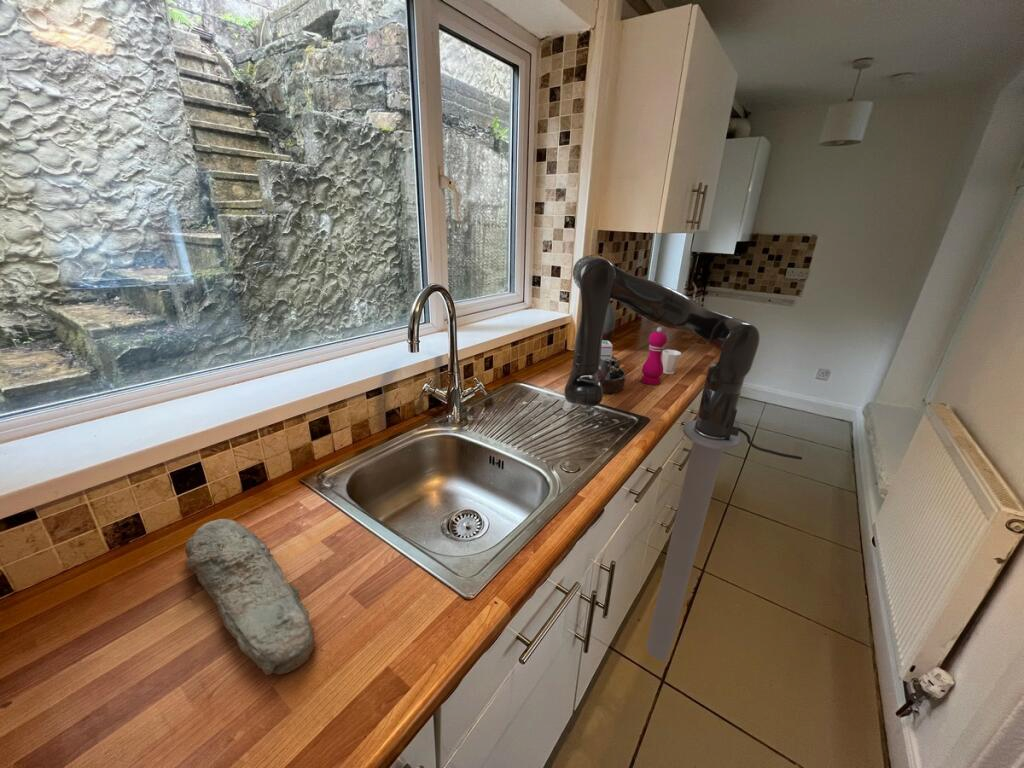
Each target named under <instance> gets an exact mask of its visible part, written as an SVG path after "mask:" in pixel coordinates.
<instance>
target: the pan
mask: <svg viewBox="0 0 1024 768" xmlns="http://www.w3.org/2000/svg"><path fill="white" fill-rule="evenodd" d="M626 378H627V373H626V371H625V370H624V369H622V368H621V367H620V368H619V372H618V373H615V371H614V370H610V374H609V380H604V381H603V383H602V387H603V395H604V394H607V395H608V394H614V393H617V392H619V391H621V390H623V389H624V387H625V386H626V385H625V384H626Z"/></svg>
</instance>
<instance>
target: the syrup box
mask: <svg viewBox="0 0 1024 768" xmlns="http://www.w3.org/2000/svg"><path fill="white" fill-rule="evenodd" d="M613 348H614V346H613V344H611V343H610V341H607V340H602V346H601V356H600V358H601V359H603V360H606V359H610V360H611V358H612V356H613ZM609 374H610V371H608V373H607V375H606V378H605V380H609Z"/></svg>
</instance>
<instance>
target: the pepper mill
mask: <svg viewBox="0 0 1024 768" xmlns="http://www.w3.org/2000/svg"><path fill="white" fill-rule="evenodd" d="M648 342H649V345H648V350H649V354H648V357H647V358H646V359H645V362H644V363H643V365H642V368H641V372H642V374H643V375H641V382H642V383H644V384H646V385H649V386H650V385H651V386H656V385H659V384H660V383H661V376H662V375H663V374H664V373H663V364H662V355H663V350H665V345H666V344H667V342H668V336H667V334H666V333H665V332H663V328H662V327H660V326H659V327H657V328H656V331H653V332H651V333H650V334H649V336H648Z"/></svg>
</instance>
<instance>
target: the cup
mask: <svg viewBox="0 0 1024 768" xmlns="http://www.w3.org/2000/svg"><path fill="white" fill-rule="evenodd" d="M681 356H682V352H681V351H678V350H676V349H664V350H663V351H662V357H661V361H662V365H663V374H666V375H674V374H675V371H676V369H677V367H678V365H679V362H680V359H681Z"/></svg>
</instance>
